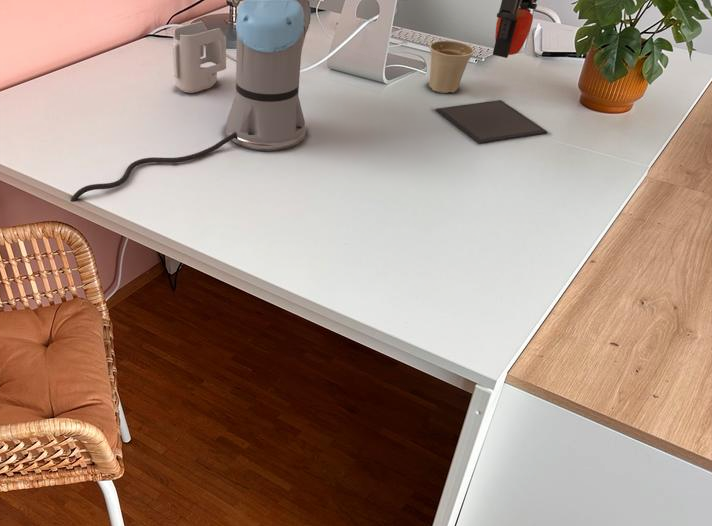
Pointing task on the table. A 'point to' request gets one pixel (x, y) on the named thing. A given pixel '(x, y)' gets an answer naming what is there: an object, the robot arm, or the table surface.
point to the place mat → (490, 121)
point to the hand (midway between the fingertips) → (506, 50)
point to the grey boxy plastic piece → (197, 56)
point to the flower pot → (448, 64)
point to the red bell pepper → (519, 30)
